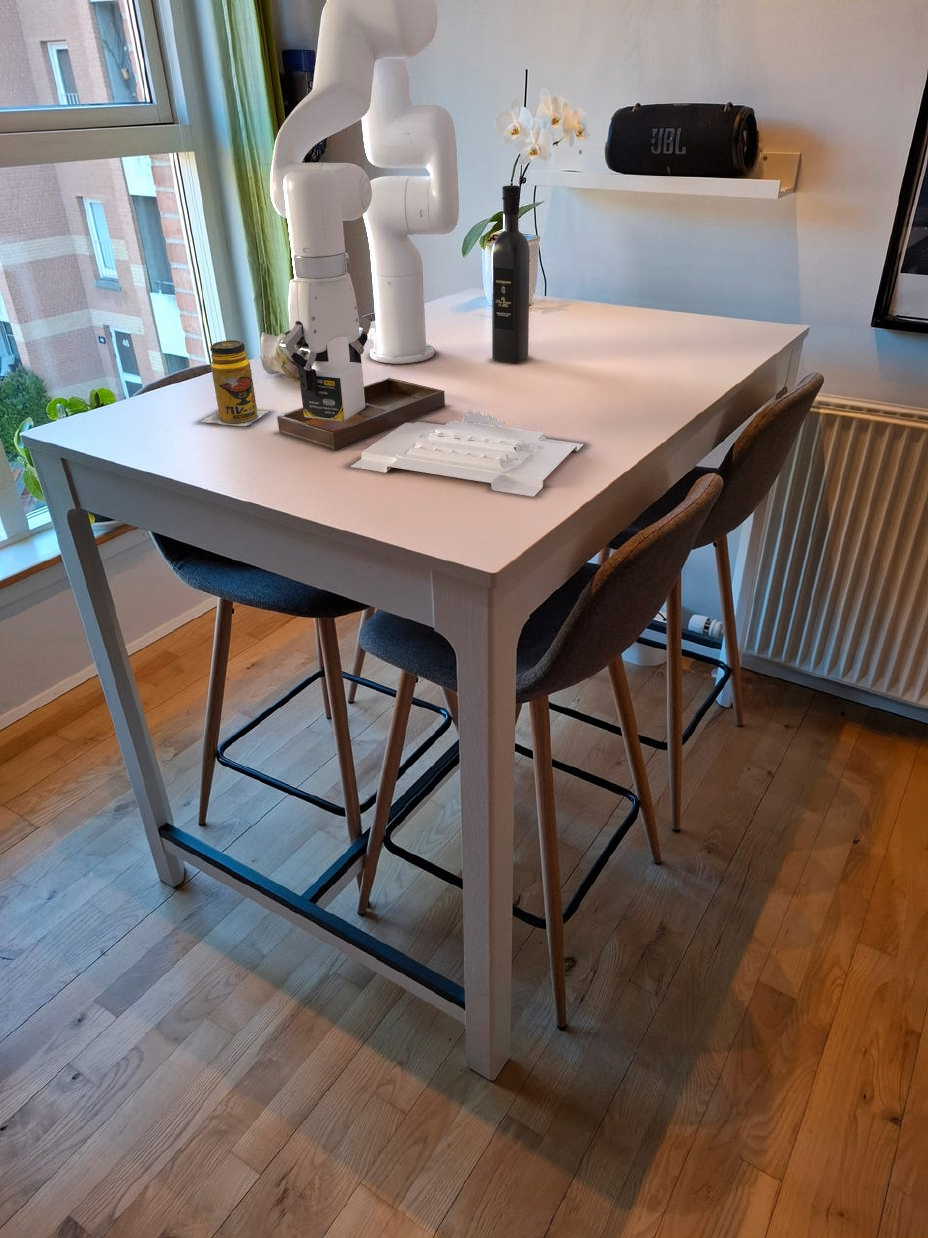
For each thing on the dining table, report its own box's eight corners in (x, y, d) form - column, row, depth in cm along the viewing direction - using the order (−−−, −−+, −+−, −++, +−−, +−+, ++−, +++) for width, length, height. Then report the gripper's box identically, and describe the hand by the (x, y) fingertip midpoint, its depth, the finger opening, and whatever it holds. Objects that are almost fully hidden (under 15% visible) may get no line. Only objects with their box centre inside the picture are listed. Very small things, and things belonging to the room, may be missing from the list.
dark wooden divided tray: (279, 432, 138) (276, 416, 136) (390, 392, 154) (389, 377, 152) (335, 450, 131) (333, 432, 129) (445, 406, 147) (444, 390, 145)
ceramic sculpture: (281, 317, 165) (343, 331, 159) (286, 362, 170) (345, 378, 164) (239, 330, 158) (302, 346, 151) (245, 377, 163) (306, 395, 156)
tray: (534, 496, 115) (534, 469, 113) (350, 474, 126) (346, 449, 124) (584, 443, 130) (584, 419, 128) (416, 427, 141) (414, 405, 139)
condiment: (246, 427, 140) (234, 350, 134) (200, 422, 143) (186, 347, 136) (268, 412, 146) (258, 338, 140) (223, 408, 149) (211, 335, 142)
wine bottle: (516, 364, 166) (518, 188, 151) (490, 361, 169) (488, 187, 153) (530, 357, 170) (532, 184, 155) (504, 353, 173) (504, 183, 157)
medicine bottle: (303, 417, 135) (293, 338, 129) (326, 403, 141) (318, 326, 135) (344, 422, 133) (336, 341, 127) (366, 408, 138) (359, 329, 132)
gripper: (346, 254, 133) (356, 369, 142) (254, 273, 122) (272, 397, 131) (381, 259, 129) (390, 377, 138) (290, 279, 118) (305, 406, 127)
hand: (332, 386), depth 135 cm, fingers closed on medicine bottle, 8 cm apart
